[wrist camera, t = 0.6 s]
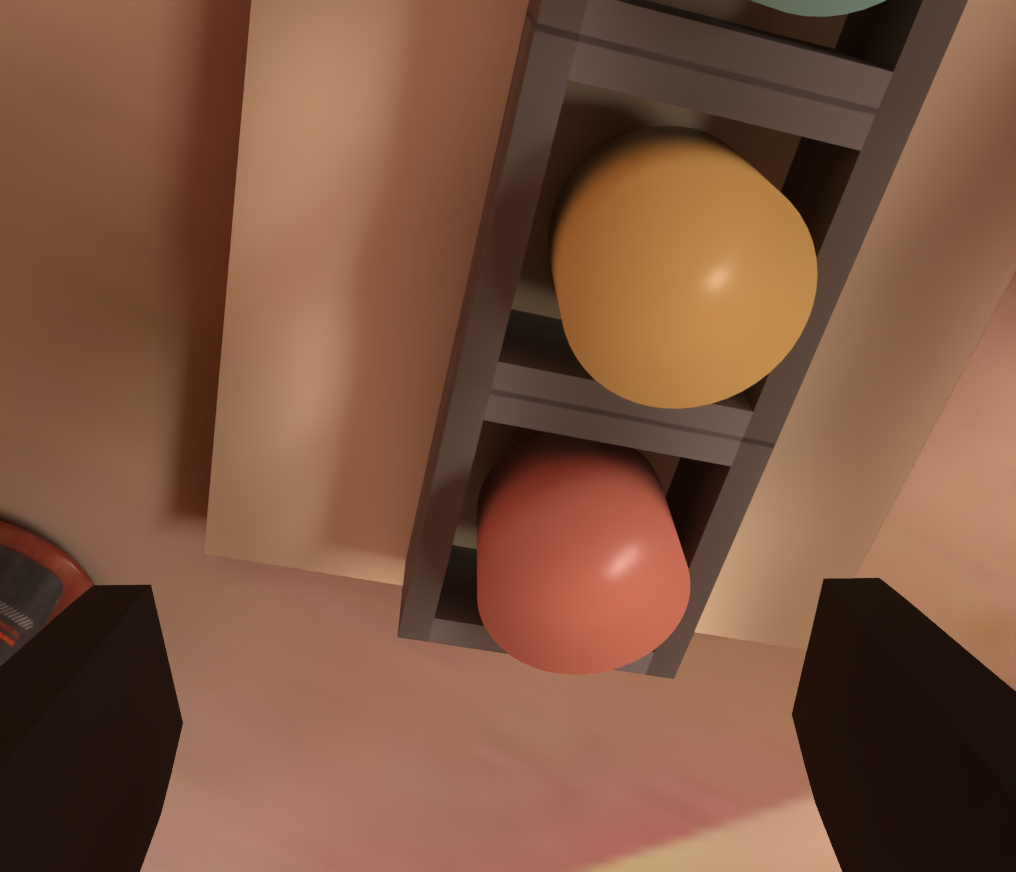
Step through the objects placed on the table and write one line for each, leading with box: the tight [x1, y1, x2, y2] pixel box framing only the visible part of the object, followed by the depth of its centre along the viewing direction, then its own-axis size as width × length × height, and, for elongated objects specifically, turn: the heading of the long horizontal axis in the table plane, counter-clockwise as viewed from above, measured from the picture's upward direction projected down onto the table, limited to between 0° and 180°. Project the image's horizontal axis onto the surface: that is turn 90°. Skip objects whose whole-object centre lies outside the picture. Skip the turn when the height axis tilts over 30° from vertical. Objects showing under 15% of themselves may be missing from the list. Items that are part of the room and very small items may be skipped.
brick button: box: [477, 433, 690, 674], centre depth 17 cm, size 4×4×2 cm
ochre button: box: [548, 125, 818, 409], centre depth 14 cm, size 4×4×2 cm
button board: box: [204, 0, 1016, 679], centre depth 15 cm, size 14×20×4 cm
